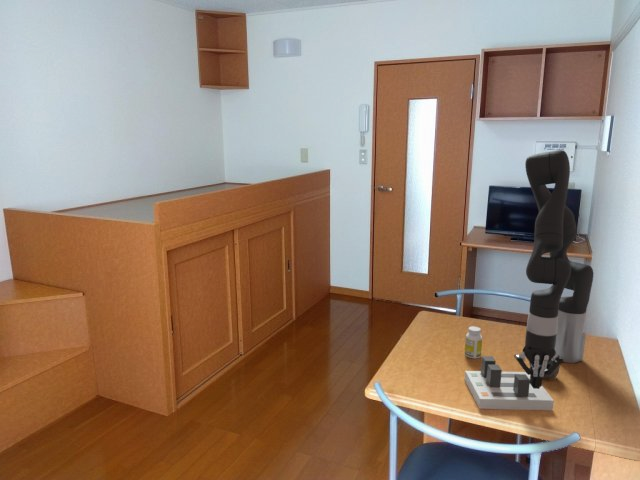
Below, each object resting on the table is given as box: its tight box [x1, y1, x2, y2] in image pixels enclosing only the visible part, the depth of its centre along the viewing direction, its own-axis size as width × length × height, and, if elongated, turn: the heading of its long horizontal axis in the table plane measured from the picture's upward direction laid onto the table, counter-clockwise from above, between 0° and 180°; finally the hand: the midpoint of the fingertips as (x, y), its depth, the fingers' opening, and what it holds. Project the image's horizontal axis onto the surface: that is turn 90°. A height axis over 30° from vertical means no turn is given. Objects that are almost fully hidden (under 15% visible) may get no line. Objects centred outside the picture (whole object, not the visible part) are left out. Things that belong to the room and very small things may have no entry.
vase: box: [543, 365, 560, 381], centre depth 151 cm, size 7×7×9 cm
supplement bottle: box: [464, 325, 483, 359], centre depth 166 cm, size 5×5×10 cm
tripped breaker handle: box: [513, 374, 530, 397], centre depth 135 cm, size 3×3×5 cm
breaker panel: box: [464, 355, 555, 411], centre depth 141 cm, size 20×16×8 cm
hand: (535, 387), depth 135 cm, fingers closed
